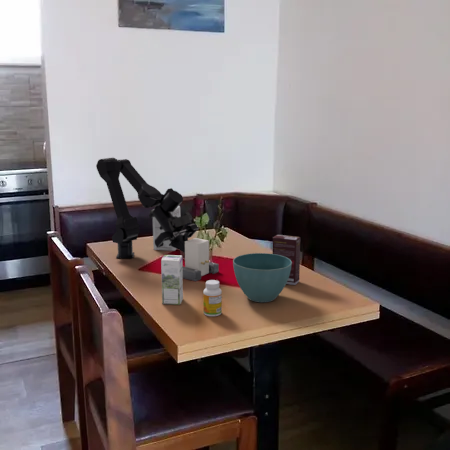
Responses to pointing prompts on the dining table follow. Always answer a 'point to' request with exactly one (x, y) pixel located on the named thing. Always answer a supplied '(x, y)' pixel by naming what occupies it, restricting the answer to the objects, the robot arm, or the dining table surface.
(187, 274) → the housing
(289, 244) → the supplement box
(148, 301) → the dining table surface
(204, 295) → the supplement bottle
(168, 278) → the syrup box
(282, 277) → the teal bowl
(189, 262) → the plug
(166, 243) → the supplement box
